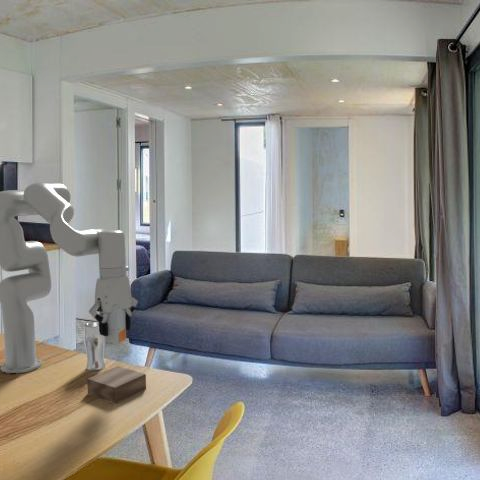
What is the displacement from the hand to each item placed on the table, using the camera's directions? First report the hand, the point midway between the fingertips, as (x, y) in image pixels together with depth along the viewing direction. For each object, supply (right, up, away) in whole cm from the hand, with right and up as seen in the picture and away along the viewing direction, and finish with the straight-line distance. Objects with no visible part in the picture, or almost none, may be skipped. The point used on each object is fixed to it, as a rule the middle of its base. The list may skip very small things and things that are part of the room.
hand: (115, 331), depth 143 cm
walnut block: (0, -19, +2) cm, 19 cm away
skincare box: (0, -3, 0) cm, 4 cm away
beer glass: (-12, -16, +22) cm, 30 cm away
